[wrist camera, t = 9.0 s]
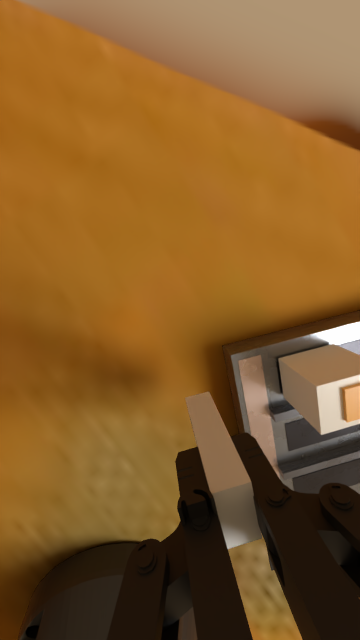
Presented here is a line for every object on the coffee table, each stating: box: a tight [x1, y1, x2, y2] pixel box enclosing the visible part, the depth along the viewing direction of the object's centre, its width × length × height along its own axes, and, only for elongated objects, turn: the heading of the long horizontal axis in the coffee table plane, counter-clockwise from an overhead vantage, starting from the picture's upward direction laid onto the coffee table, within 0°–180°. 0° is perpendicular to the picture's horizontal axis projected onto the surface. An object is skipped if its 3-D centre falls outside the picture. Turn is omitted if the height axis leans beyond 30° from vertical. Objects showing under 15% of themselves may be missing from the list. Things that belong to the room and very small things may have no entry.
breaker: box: [278, 344, 360, 435], centre depth 16 cm, size 4×3×4 cm
